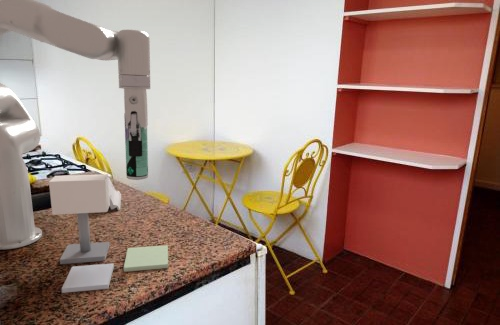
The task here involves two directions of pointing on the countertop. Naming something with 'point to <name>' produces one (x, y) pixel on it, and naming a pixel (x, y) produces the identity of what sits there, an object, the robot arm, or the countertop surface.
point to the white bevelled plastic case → (114, 197)
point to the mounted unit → (81, 212)
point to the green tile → (146, 258)
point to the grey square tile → (88, 278)
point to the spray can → (137, 157)
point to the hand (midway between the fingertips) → (136, 152)
